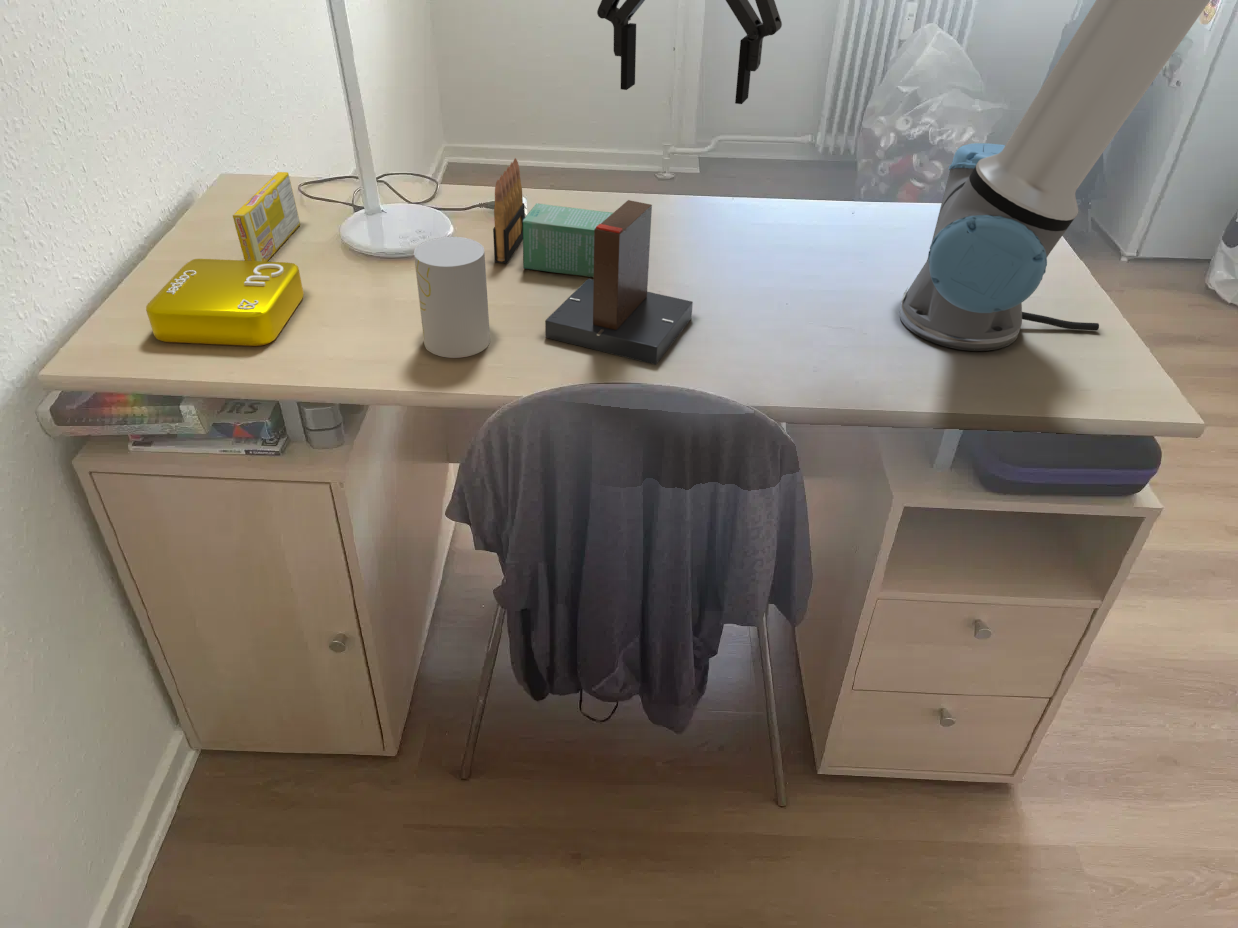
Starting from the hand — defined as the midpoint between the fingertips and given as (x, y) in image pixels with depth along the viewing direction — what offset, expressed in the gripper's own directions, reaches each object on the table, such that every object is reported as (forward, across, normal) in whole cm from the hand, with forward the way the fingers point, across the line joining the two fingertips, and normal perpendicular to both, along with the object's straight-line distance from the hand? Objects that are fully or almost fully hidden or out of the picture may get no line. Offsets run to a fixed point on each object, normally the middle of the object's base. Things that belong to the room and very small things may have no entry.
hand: (683, 94), depth 104 cm
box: (+28, -18, +9) cm, 34 cm away
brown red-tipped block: (+26, -5, -6) cm, 27 cm away
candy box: (+27, -60, -4) cm, 66 cm away
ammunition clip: (+28, -29, +10) cm, 41 cm away
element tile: (+28, -52, -24) cm, 63 cm away
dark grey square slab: (+28, -5, -6) cm, 29 cm away
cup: (+28, -22, -17) cm, 40 cm away
